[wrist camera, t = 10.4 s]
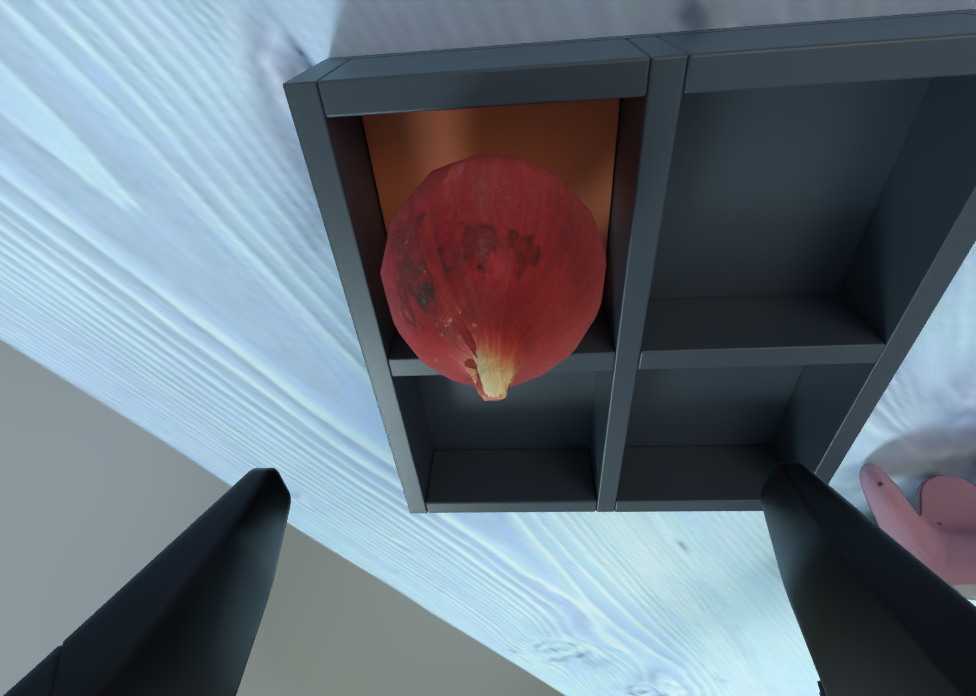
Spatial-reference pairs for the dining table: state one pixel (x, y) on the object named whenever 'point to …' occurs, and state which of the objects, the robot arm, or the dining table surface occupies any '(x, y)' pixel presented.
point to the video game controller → (930, 523)
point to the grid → (668, 246)
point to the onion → (493, 271)
